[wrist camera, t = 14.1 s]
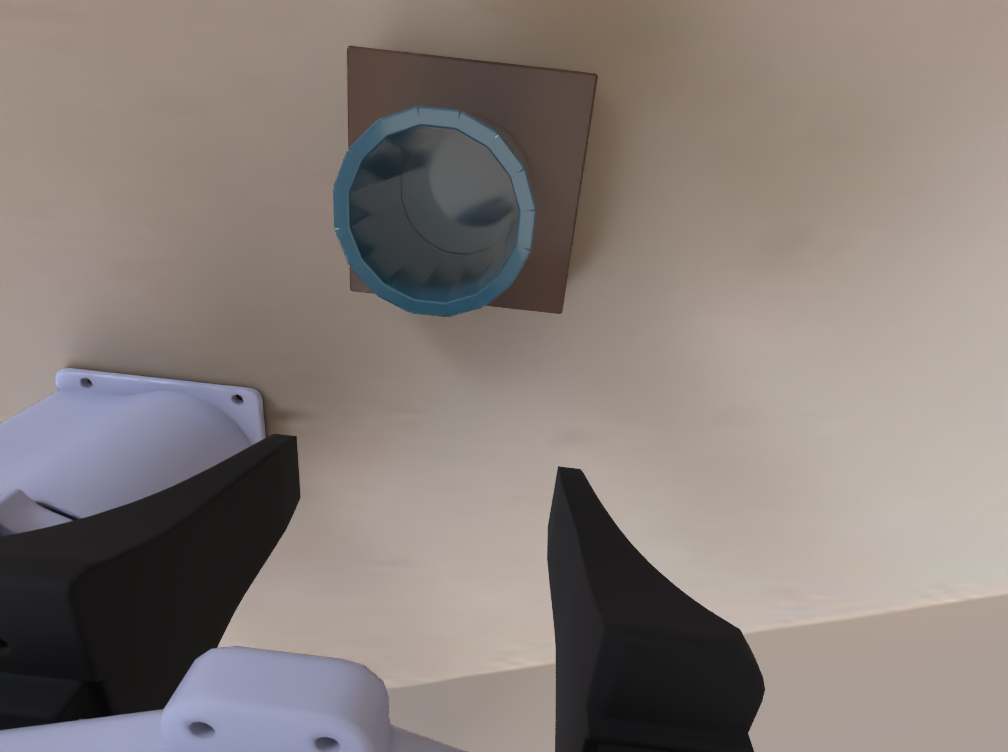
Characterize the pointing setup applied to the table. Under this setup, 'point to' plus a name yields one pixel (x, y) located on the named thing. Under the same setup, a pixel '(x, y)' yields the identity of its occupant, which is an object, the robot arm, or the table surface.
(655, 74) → the table surface
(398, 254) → the small cup
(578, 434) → the table surface
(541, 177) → the walnut block
